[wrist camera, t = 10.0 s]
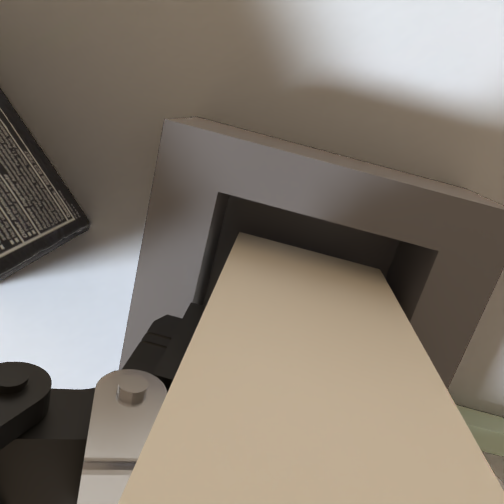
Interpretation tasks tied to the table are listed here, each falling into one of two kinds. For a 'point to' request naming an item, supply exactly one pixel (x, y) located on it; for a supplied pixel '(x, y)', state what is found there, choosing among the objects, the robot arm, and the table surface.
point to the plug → (307, 396)
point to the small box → (30, 198)
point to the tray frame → (485, 430)
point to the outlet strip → (313, 229)
